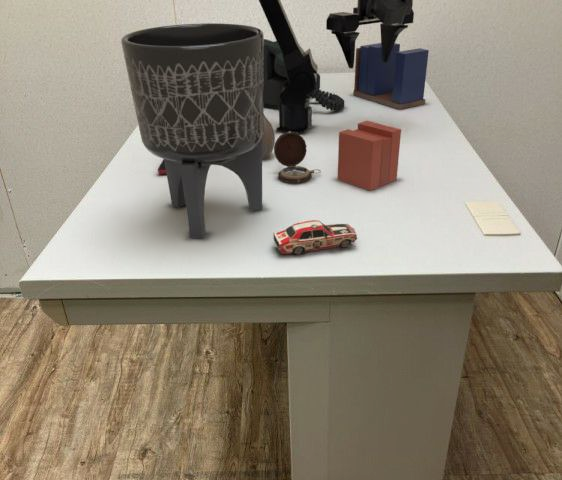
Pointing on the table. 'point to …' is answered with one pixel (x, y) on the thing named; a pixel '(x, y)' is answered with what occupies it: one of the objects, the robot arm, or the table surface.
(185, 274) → the table surface
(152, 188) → the table surface
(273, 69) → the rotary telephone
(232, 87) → the planter
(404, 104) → the book rack
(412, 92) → the navy book
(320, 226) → the race car
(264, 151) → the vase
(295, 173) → the compass
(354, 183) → the brick-red books
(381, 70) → the navy books
